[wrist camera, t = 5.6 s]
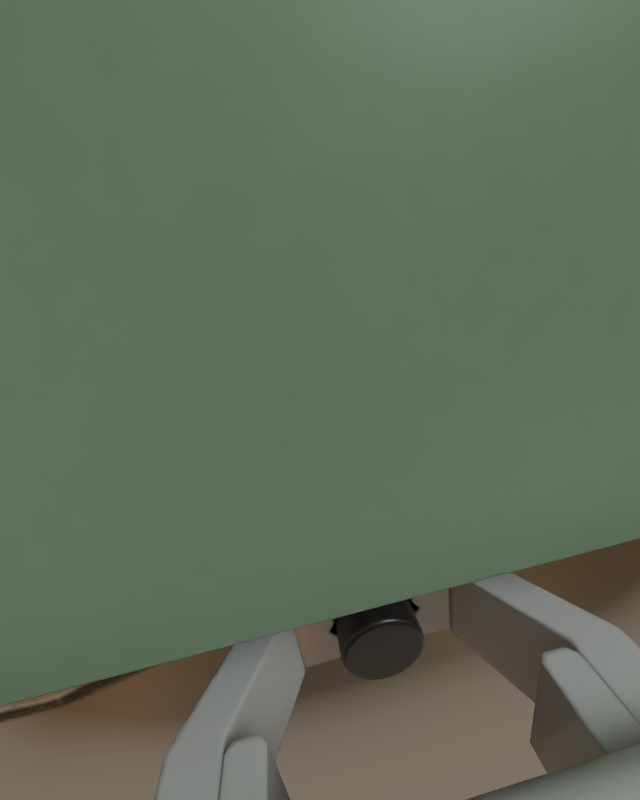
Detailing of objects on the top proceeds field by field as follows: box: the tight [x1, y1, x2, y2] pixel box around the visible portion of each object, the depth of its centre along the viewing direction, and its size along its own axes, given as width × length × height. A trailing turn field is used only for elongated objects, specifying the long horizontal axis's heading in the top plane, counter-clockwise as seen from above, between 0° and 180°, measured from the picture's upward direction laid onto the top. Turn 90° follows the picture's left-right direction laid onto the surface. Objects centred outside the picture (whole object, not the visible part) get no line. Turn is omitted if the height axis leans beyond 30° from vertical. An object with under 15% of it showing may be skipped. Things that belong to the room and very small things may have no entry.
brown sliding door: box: [335, 599, 424, 680], centre depth 9 cm, size 4×8×8 cm, turn 99°
